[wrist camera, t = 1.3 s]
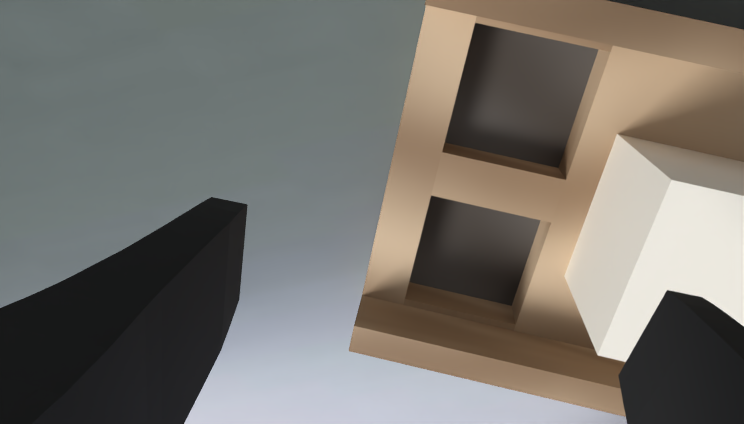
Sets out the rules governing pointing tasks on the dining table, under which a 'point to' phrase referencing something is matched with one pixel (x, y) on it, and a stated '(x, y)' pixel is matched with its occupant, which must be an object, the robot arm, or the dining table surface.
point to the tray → (527, 179)
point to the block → (657, 240)
